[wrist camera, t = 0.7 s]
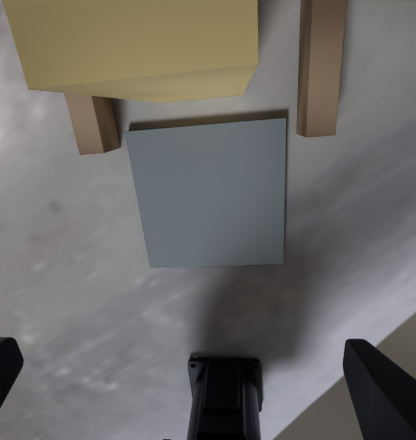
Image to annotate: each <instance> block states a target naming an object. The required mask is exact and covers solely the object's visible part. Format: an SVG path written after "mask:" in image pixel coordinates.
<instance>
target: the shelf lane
mask: <svg viewBox="0 0 416 440" xmlns="http://www.w3.org/2000/svg"><path fill="white" fill-rule="evenodd" d="M345 12H346V0H301V12H300V42H299V73H298V104H297V134H299V135H301V136H304V137H318V136H330V135H335V133H336V121H337V109H338V97H339V84H340V72H341V60H342V48H343V36H344V24H345ZM65 97H66V101H67V105H68V109H69V113H70V117H71V121H72V125H73V129H74V133H75V137H76V141H77V145H78V149H79V153H80V155H85V154H98V153H106V152H109V151H112V150H115V149H118V148H120V143H119V138H118V133H117V128H116V123H115V117H114V112H113V107H112V102H111V98H110V97H100V96H90V95H80V94H70V93H65Z"/></svg>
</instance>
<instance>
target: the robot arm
mask: <svg viewBox="0 0 416 440" xmlns="http://www.w3.org/2000/svg"><path fill="white" fill-rule="evenodd" d="M23 363H24V359H23V356H22V354H21V351H20V349H19V346H18V344H17V341H16V340H15V339H14V338H12V337H0V408H1V406H2V404H3V402H4V400H5V399H6V397H7V395H8V393H9V391H10V389H11V387H12V386H13V384H14V382H15V380H16V378H17V376H18V375H19V373H20V371H21V369H22V367H23ZM343 371H344V375H345V379H346V382H347V385H348V388H349V392H350V395H351V399H352V402H353V405H354V409H355V412H356V415H357V419H358V422H359V425H360V429H361V432H362V435H363V438H364V440H416V379H415V378H413V377H412V376H411V375H410V374H408V373H407V372H406V371H404V370H403V369H402V368H401V367H400V366H398V365H397V364H396V363H394V362H393V361H392V360H391V359H389V358H388V357H386V355H384V354H383V353H382V352H380V351H379V350H378V349H377V348H375V347H374V346H373V345H372V344H370V343H369V342H368V341H366V340H364V339H347V340H346V342H345V349H344V358H343ZM188 372H189V378H190V385H191V391H192V398H193V401H192V408H191V415H190V421H189V428H188V435H187V440H261V434H260V421H259V412H261V410H262V396H261V363H260V361H259V360H258V359H242V358H190V359H189V360H188ZM163 440H171V439H163Z"/></svg>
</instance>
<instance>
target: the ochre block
mask: <svg viewBox="0 0 416 440" xmlns="http://www.w3.org/2000/svg"><path fill="white" fill-rule="evenodd" d="M2 1H3V4H4V7H5V11H6V14H7V18H8V21H9V24H10V28H11V31H12V35H13V38H14V41H15V45H16V48H17V51H18V55H19V58H20V62H21V65H22V68H23V72H24V75H25V79H26V82H27V85H28V89H30V90H40V91H50V92H60V93H70V94H80V95H90V96H100V97H110V98H120V99H130V100H140V101H150V102H160V103H165V102H175V101H185V100H196V99H206V98H216V97H227V96H237V95H243V93H244V91H245V89H246V87H247V85H248V83H249V82H250V80H251V78H252V76H253V74H254V72H255V70H256V68H257V66H258V0H2Z"/></svg>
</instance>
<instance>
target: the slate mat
mask: <svg viewBox="0 0 416 440" xmlns="http://www.w3.org/2000/svg"><path fill="white" fill-rule="evenodd" d="M125 135H126V140H127V146H128V151H129V156H130V162H131V167H132V173H133V178H134V183H135V189H136V194H137V199H138V205H139V210H140V215H141V221H142V226H143V231H144V237H145V242H146V247H147V253H148V258H149V263H150V268H157V267H195V266H234V265H273V264H283V262H284V209H285V156H286V118H275V119H263V120H252V121H240V122H229V123H217V124H205V125H194V126H182V127H170V128H159V129H147V130H136V131H126V132H125Z"/></svg>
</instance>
